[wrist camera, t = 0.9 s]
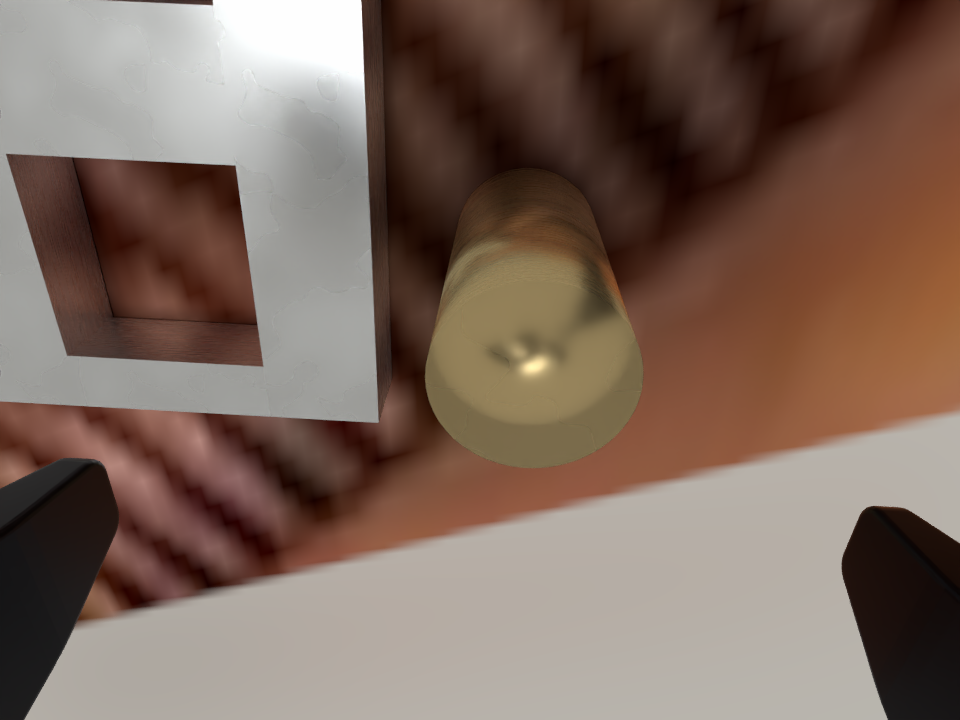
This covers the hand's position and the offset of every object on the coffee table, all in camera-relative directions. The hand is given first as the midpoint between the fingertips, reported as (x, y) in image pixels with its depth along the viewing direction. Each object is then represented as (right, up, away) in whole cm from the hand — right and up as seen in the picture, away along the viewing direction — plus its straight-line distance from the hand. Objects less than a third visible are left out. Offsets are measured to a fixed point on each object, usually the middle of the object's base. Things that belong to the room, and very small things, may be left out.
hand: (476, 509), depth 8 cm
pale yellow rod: (+1, +5, +11) cm, 13 cm away
